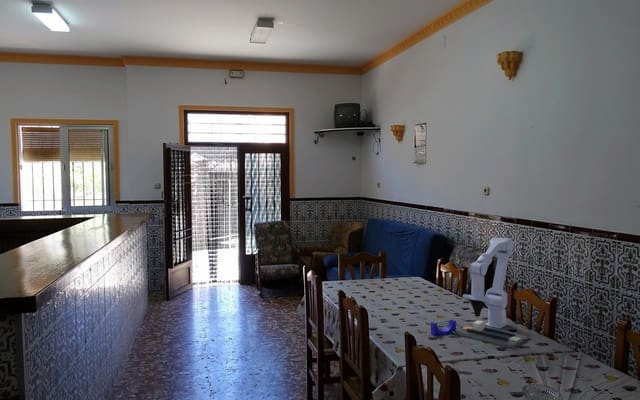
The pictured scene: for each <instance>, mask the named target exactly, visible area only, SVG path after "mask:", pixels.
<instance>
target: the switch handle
mask: <svg viewBox="0 0 640 400" xmlns="http://www.w3.org/2000/svg"><path fill="white" fill-rule="evenodd" d="M472 324H473V330H477V331H483V330H484V327H485V322H484V321H482V320H476V321H474V322H472Z"/></svg>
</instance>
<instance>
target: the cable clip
mask: <svg viewBox="0 0 640 400" xmlns="http://www.w3.org/2000/svg"><path fill="white" fill-rule="evenodd" d="M456 330H457V321H456V320H455V319H449V323H448V324H445V325H444V326H443V327H442V328H440V329H439V326H438V323H437V322H435V321H431V322H430V335H431V336H434V337H437V336H443V335H444V336H445V335H450V334H449V333H452V331H454V332H455V331H456ZM452 334H453V333H452Z"/></svg>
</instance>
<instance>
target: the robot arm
mask: <svg viewBox="0 0 640 400" xmlns="http://www.w3.org/2000/svg"><path fill="white" fill-rule="evenodd" d="M489 241H490V242H489V246H488V249H487V250H486V251H485V252H483V253H482V254H480V256H479V257H478V258H477V260H476V261H474V262H471V263H470V265H469V268H468V271H469V276H470V279H471V294H466V293H464V294H463V295H462V299H463V300H469V301H470V302H469V303H470V305H471V306H472V309H473V311H474V316H475V317H477V318H479V317H481V313H482V310H483V307H484V305H485V306H486V308H487V322H486V323H484V326H486V325H487V326H486V327H490V328H494V329H501V328H503V327H505V326H507V325H509V324H508V323H507V310H506V308H507V305H508V293H507V292H506V291H505V290H504V286H505V285H504V284H505V279H506V275H507V274H506V273H507V268H508V264H509V259H510V257H511V256H512V255H513V254H512V253H513V250H514V241H513V239H512V238H506V237H505V238H504V237H495V236H492V237H491V239H490V240H489ZM495 255H496V256H497V262H496V267H495V272H494V275H493V276H494V277H493V282H492V287H490V288H489V289H487V290H486V294H485V276H486V274H487V271H488V268H489V265H491V263H492V261H493V257H494V256H495Z"/></svg>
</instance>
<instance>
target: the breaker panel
mask: <svg viewBox="0 0 640 400" xmlns="http://www.w3.org/2000/svg"><path fill="white" fill-rule="evenodd" d="M456 334H459V335H458V336H461V335H463V336H462V337H465V336H466V337H465V338H469V337H471V338H470V339H473V338H475V339H474V340H477V339H479V340H478V341H481V340H483V341H482V342H485V341H487V342H486V343H489V342H492V343H491V344H493V343H496V344H495V345H497V344H500V345H499V346H501V345H504V346H503V347H505V346H508V347H507V348H510V347H512V348H511V349H514V348H516V347H517V346H519V345H521V344H522V343H524V342H525V340H526V339H527V340H528V338H529V337H528V335H525V334H519V333H516V332H511V331H506V330H502V329H499V328H494V327H490V326H484V330H483V331H477V330H473V323H469V324H467V325H465V326H463V327H460V328H458V329H456V331H455V333H454V335H456ZM527 340H526V341H527ZM523 341H524V342H523ZM521 342H522V343H521ZM520 343H521V344H520ZM518 344H519V345H518ZM515 346H516V347H515ZM513 347H514V348H513Z"/></svg>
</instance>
